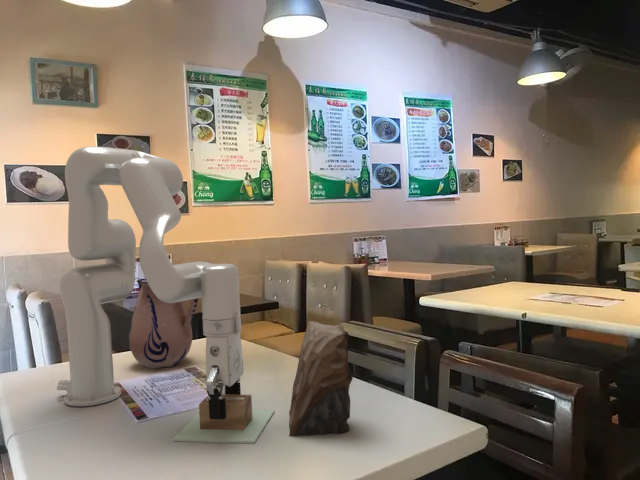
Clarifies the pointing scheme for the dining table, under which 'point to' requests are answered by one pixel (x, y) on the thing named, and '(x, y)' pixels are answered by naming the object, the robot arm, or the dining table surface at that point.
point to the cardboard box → (228, 413)
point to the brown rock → (321, 383)
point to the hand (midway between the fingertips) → (225, 409)
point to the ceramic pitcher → (160, 329)
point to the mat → (226, 436)
